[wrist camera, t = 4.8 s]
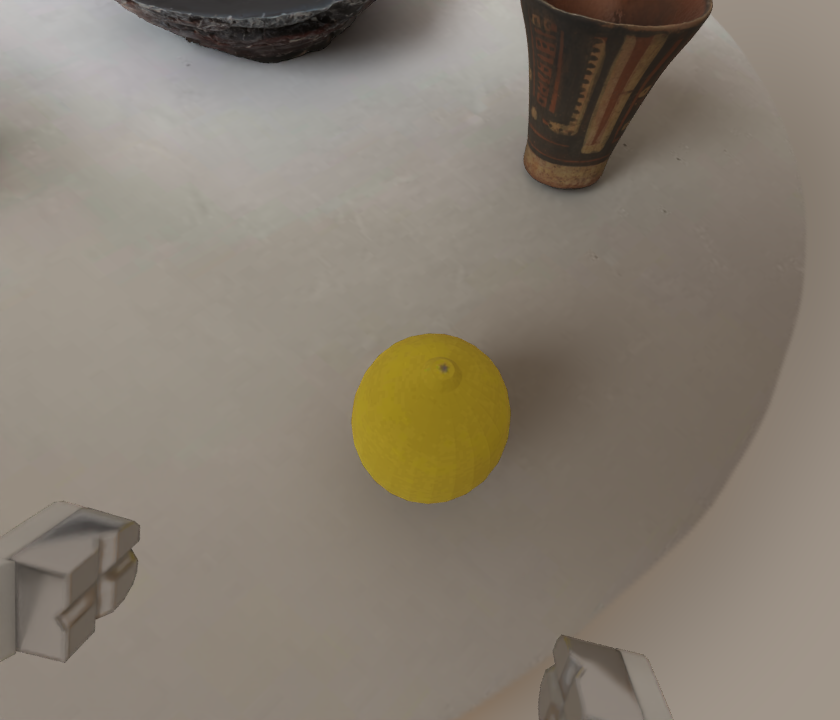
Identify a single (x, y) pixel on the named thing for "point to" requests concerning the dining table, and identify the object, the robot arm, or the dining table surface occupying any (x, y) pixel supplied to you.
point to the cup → (595, 76)
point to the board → (253, 23)
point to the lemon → (431, 418)
